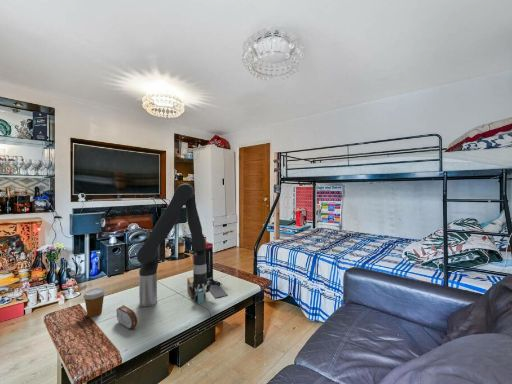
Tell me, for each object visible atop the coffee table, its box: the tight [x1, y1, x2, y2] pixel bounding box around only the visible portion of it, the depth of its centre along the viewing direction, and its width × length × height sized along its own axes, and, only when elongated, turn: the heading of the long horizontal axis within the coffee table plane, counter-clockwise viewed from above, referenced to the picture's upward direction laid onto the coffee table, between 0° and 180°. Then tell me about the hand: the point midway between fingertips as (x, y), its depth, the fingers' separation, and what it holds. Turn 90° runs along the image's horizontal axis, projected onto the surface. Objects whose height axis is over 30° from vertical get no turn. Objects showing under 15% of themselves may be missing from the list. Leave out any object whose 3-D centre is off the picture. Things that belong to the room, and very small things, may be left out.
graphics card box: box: [192, 241, 214, 281], centre depth 175 cm, size 17×7×27 cm, turn 47°
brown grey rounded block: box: [116, 305, 138, 330], centre depth 116 cm, size 15×3×8 cm, turn 56°
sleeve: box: [186, 276, 194, 299], centre depth 150 cm, size 8×10×9 cm
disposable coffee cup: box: [83, 287, 106, 318], centre depth 126 cm, size 10×10×12 cm
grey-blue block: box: [193, 286, 205, 305], centre depth 144 cm, size 4×13×6 cm, turn 28°
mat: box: [209, 284, 229, 299], centre depth 154 cm, size 8×18×1 cm, turn 28°
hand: (200, 300), depth 140 cm, fingers closed on grey-blue block, 3 cm apart
